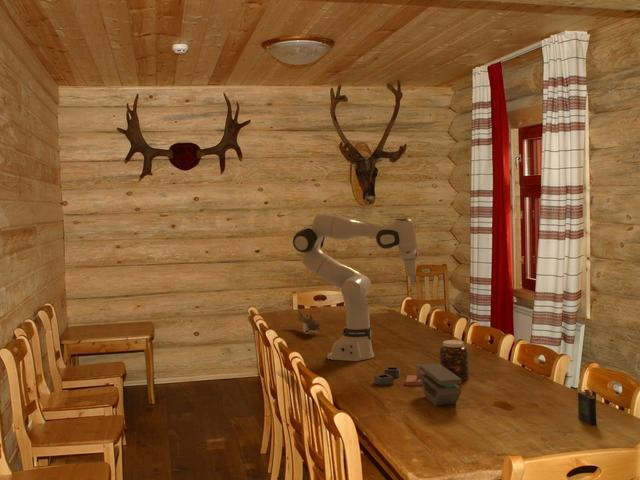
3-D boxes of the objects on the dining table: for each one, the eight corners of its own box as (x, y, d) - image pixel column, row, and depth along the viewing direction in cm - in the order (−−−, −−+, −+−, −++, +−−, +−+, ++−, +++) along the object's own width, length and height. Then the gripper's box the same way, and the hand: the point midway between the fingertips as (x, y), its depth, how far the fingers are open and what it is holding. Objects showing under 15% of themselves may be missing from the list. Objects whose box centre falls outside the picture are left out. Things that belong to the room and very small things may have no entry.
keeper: (405, 385, 287) (404, 368, 287) (407, 378, 297) (407, 362, 296) (430, 385, 285) (429, 368, 284) (432, 379, 294) (431, 362, 294)
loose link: (379, 386, 287) (379, 378, 287) (374, 382, 293) (374, 375, 293) (393, 384, 289) (393, 377, 289) (387, 380, 295) (387, 373, 294)
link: (384, 377, 301) (384, 370, 301) (386, 373, 307) (386, 366, 307) (398, 377, 300) (398, 370, 299) (400, 373, 305) (400, 366, 305)
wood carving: (306, 327, 424) (306, 308, 424) (325, 337, 391) (324, 317, 390) (292, 328, 422) (291, 310, 421) (310, 339, 388) (309, 318, 388)
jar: (470, 374, 299) (469, 339, 298) (466, 382, 288) (465, 345, 287) (442, 373, 303) (441, 338, 302) (437, 380, 292) (436, 344, 291)
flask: (576, 417, 238) (576, 385, 238) (584, 416, 239) (584, 385, 238) (591, 426, 229) (590, 393, 228) (599, 425, 230) (599, 392, 229)
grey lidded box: (420, 392, 276) (419, 364, 275) (439, 390, 277) (438, 363, 276) (441, 411, 251) (440, 380, 251) (462, 409, 252) (461, 379, 252)
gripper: (403, 250, 335) (408, 279, 337) (401, 257, 315) (406, 287, 317) (416, 248, 334) (421, 277, 336) (415, 255, 314) (420, 285, 316)
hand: (413, 282), depth 326 cm, fingers open, 8 cm apart
